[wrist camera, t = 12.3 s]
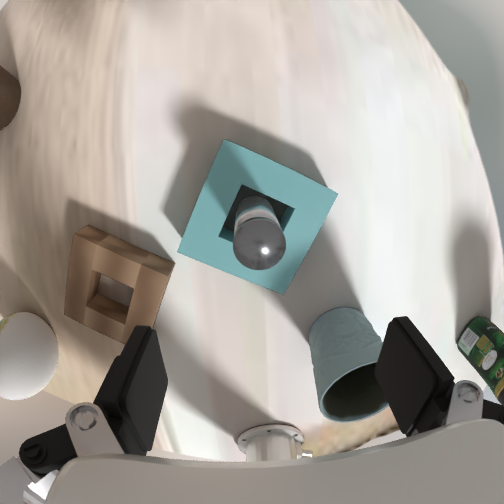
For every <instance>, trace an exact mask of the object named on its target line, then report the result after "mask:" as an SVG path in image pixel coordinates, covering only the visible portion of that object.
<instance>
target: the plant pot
mask: <svg viewBox="0 0 504 504" xmlns="http://www.w3.org/2000/svg"><path fill="white" fill-rule="evenodd" d="M20 96H21V91H20V85H19V83H18V81H17V80H16V79H15V78H14V77H13V76H12V75H11V74H10V73H9V72H7V71H6V70H5V69H4V68H3V67H1V66H0V130H1V129H3V128H4V127H6V126H7V125H8V124H9V123H10V122H11V121H12V119H13V118H14V116H15V114H16V112H17V109H18V106H19V102H20Z"/></svg>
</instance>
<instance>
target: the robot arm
mask: <svg viewBox="0 0 504 504" xmlns="http://www.w3.org/2000/svg"><path fill="white" fill-rule="evenodd" d="M375 377H376V379H377V381H378V383H379V385H380V387H381V389H382V391H383V393H384V395H385V397H386V400H387V402H388V404H389V406H390V408H391V410H392V412H393V414H394V417H395V419H396V421H397V423H398V425H399V428H400V430H401V432H402V433H403V434H406V436H407V437H406V438H403V439H399V440H396V441H392V442H388V443H385V444H381V445H377V446H372V447H368V448H364V449H359V450H354V451H348V452H343V453H337V454H331V455H325V456H318V457H311V455H312V453H313V452H312V450H303V449H302V448H301V445H302V443H303V435H302V433H301V432H300V431H299V430H298V429H296V428H294V427H291V426H287V425H278V424H275V425H263V426H258V427H255V428H252V429H249V430H247V431H245V432H244V433H242V434H241V435H240V436H239V438H238V448H239V450H240V451H241V452H243V453H244V454H246V462H212V461H194V460H180V459H169V458H160V457H151V456H146V453H147V451H151V449H152V446H153V441H154V437H155V433H156V429H157V425H158V421H159V417H160V413H161V409H162V405H163V401H164V397H165V393H166V390H167V385H168V378H167V374H166V370H165V367H164V363H163V359H162V355H161V351H160V346H159V342H158V338H157V333H156V331H155V330H152V328H151V326H144V325H136V326H135V327H134V329H133V331H132V333H131V335H130V337H129V339H128V341H127V343H126V345H125V347H124V349H123V351H122V353H121V355H120V356H117V357H116V358H115V359H114V361H113V363H112V365H111V367H110V369H109V371H108V373H107V375H106V377H105V379H104V381H103V383H102V385H101V387H100V390H99V392H98V394H97V396H96V398H95V400H94V402H93V403H89V402H83V403H78V404H76V405H74V406H73V407H72V408H70V409H69V411H68V412H67V414H66V418H65V422H66V424H63V425H61V426H59V427H56V428H54V429H52V430H49V431H47V432H44V433H42V434H39V435H37V436H34V437H32V438H30V439H27V440H26V441H25V442H24V443H23V444H22V445H21V447H20V451H19V457H18V458H16V457H15V456H14V457H12V458H11V459H9V460H8V461H7V462H6V463H4V464H3V465H1V466H0V504H504V406H503V405H500V404H497V403H493V402H491V401H487V400H484V399H483V392H482V390H481V388H480V387H479V386H478V385H477V384H476V383H474V382H472V381H468V380H462V381H459V382H457V383H456V384H455V383H454V381H453V380H454V377H453V375H452V374H451V372H450V371H449V370H448V368H447V367H446V366H445V364H444V363H443V362H442V360H441V359H440V358H439V356H438V355H437V354H436V352H435V351H434V350H433V348H432V347H431V346H430V344H429V343H428V342H427V341H426V339H425V338H424V337H423V335H422V334H421V333H420V332H419V330H418V329H417V328H416V327H415V325H414V324H413V323H412V322H411V320H410V319H409V318H408V317H407V316H403V317H395V318H393V320H392V321H391V322H389V324H388V328H387V331H386V335H385V338H384V342H383V345H382V348H381V351H380V355H379V358H378V361H377V364H376V367H375Z"/></svg>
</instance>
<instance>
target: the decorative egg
mask: <svg viewBox="0 0 504 504" xmlns="http://www.w3.org/2000/svg"><path fill="white" fill-rule="evenodd" d="M58 357H59V350H58V342H57V339H56V336H55V334H54V332H53V331H52V329H51V328H50V326H49V325H48V324H47V323H46V322H45V321H44V320H43V319H42V318H40V317H39V316H37V315H35V314H33V313H29V312H17V313H13V314H11V315H9V316H7V317H5V318H4V319H2V320H1V321H0V396H1V397H3V398H5V399H9V400H20V399H25V398H29V397H31V396H33V395H35V394H36V393H38V392H39V391H41V390H42V389H43V388H44V387H45V386H46V385H47V384H48V383H49V381H50V380H51V378H52V377H53V375H54V373H55V370H56V368H57V364H58Z"/></svg>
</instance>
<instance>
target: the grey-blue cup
mask: <svg viewBox="0 0 504 504" xmlns="http://www.w3.org/2000/svg"><path fill="white" fill-rule="evenodd" d="M309 345H310V350H311V357H312V364H313V366H314V368H313V370H314V377H315V383H316V389H317V395H318V403H319V408H320V411H321V413H322V414H323V415H324V416H325V417H326V418H327V419H329V420H332V421H335V422H355V421H359V420H363V419H366V418H369V417H371V416H373V415H375V414H377V413H379V412H381V411H382V410H384V409H385V408H386V407H388V406H389V404H388V402H387V400H386V397H385V395H384V393H383V391H382V389H381V387H380V385H379V383H378V381H377V379H376V377H375V367H376V364H377V361H378V358H379V355H380V351H381V348H382V345H383V342H382V341H381V338H380V336H378V335H377V333H376V332H375V331H374V330H373V327H372V325H371V323H370V322H369V321H368V320H367V318H366V317H365V316H364V315H363V313H361V312H360V311H358V310H356V309H354V308H350V307H340V308H335V309H332V310H330V311H328V312H326V313H324V314H323V315H321V316H320V317H319V318H318V319H317V320H316V321H315V322H314V324H313V325H312V327H311V329H310V332H309Z"/></svg>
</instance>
